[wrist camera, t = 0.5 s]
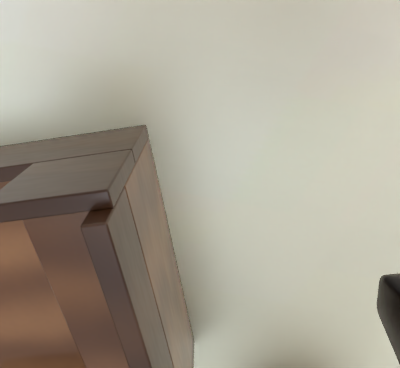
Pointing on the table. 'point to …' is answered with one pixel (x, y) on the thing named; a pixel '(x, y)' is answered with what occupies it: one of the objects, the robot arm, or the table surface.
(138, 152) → the shelf
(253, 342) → the table surface
